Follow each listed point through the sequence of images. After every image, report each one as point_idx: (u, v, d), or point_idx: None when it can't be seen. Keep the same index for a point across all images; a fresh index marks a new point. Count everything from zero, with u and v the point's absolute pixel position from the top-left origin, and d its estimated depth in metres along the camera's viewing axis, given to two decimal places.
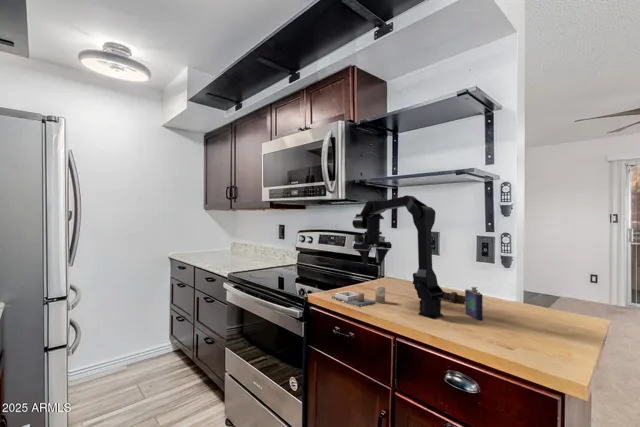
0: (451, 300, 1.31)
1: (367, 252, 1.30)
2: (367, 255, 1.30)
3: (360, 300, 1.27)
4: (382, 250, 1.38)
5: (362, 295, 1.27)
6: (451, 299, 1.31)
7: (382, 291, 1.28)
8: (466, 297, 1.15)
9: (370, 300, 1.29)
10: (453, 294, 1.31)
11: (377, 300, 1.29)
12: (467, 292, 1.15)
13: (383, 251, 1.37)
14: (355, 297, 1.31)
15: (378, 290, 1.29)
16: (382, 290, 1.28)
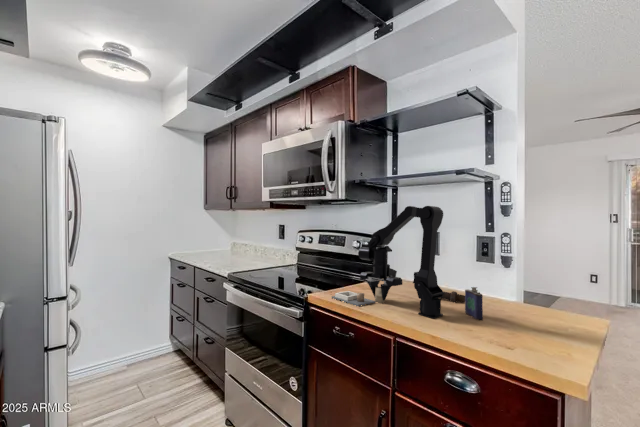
0: (452, 300, 1.32)
1: (369, 283, 1.32)
2: (370, 286, 1.32)
3: (360, 300, 1.27)
4: None
5: (362, 295, 1.27)
6: (452, 299, 1.32)
7: None
8: (466, 297, 1.15)
9: (370, 300, 1.29)
10: (453, 294, 1.32)
11: (377, 300, 1.29)
12: (467, 292, 1.15)
13: None
14: (355, 297, 1.31)
15: (378, 290, 1.29)
16: None
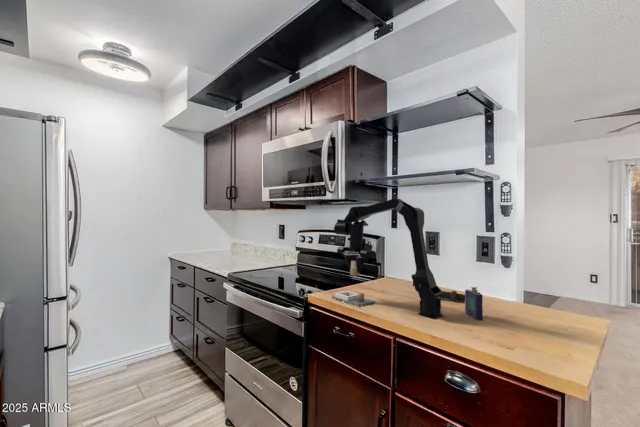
0: (452, 299, 1.33)
1: (345, 257, 1.35)
2: (346, 260, 1.35)
3: (360, 300, 1.27)
4: None
5: (362, 295, 1.27)
6: (452, 298, 1.33)
7: None
8: (466, 297, 1.15)
9: (370, 300, 1.29)
10: (454, 293, 1.33)
11: (352, 273, 1.32)
12: (467, 292, 1.15)
13: None
14: (355, 297, 1.31)
15: (353, 263, 1.32)
16: None
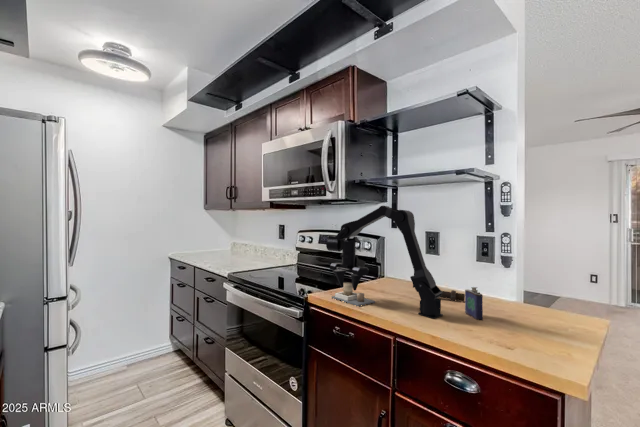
0: (452, 298, 1.34)
1: (335, 273, 1.37)
2: (336, 276, 1.37)
3: (360, 300, 1.27)
4: None
5: (362, 295, 1.27)
6: (452, 297, 1.34)
7: (349, 286, 1.32)
8: (466, 297, 1.15)
9: (370, 300, 1.29)
10: (454, 292, 1.34)
11: None
12: (467, 292, 1.15)
13: None
14: (355, 297, 1.31)
15: (346, 285, 1.33)
16: (349, 285, 1.32)
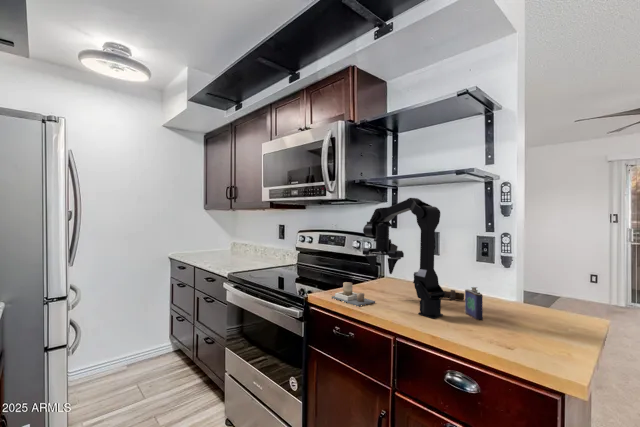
0: (452, 298, 1.35)
1: (367, 257, 1.39)
2: (368, 260, 1.39)
3: (360, 300, 1.27)
4: None
5: (362, 295, 1.27)
6: (452, 297, 1.35)
7: (349, 286, 1.32)
8: (466, 297, 1.15)
9: (370, 300, 1.29)
10: (453, 292, 1.35)
11: None
12: (467, 292, 1.15)
13: None
14: (355, 297, 1.31)
15: (345, 285, 1.33)
16: (349, 285, 1.32)
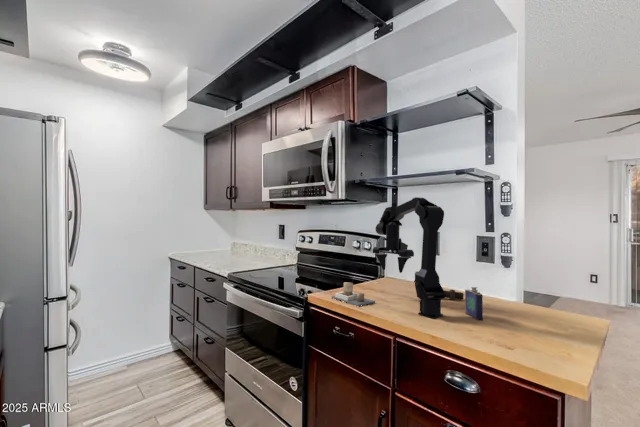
0: (451, 298, 1.36)
1: (377, 256, 1.40)
2: (378, 259, 1.40)
3: (360, 300, 1.27)
4: None
5: (362, 295, 1.27)
6: (452, 297, 1.35)
7: (350, 286, 1.32)
8: (466, 297, 1.15)
9: (370, 300, 1.29)
10: (453, 292, 1.36)
11: None
12: (467, 292, 1.15)
13: None
14: (355, 297, 1.31)
15: (346, 285, 1.32)
16: (350, 285, 1.32)
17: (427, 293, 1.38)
